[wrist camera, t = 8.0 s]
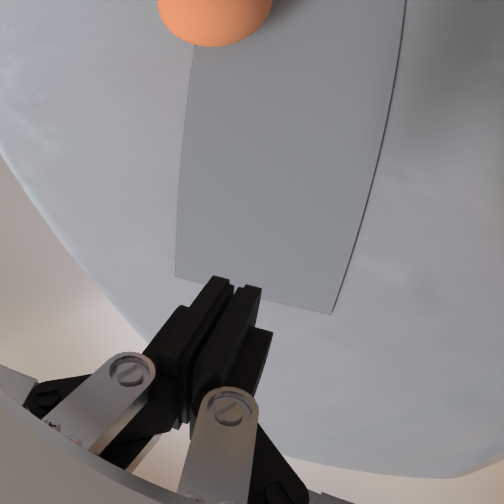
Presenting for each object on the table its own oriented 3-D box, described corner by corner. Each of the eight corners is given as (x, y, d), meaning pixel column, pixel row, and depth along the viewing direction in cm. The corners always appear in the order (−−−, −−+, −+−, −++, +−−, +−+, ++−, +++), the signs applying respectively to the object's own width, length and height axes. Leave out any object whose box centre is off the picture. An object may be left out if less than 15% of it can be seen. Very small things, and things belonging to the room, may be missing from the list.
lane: (407, -101, 8) (408, -103, 8) (330, 313, 23) (330, 315, 23) (234, -122, 9) (233, -123, 9) (175, 275, 24) (174, 276, 24)
